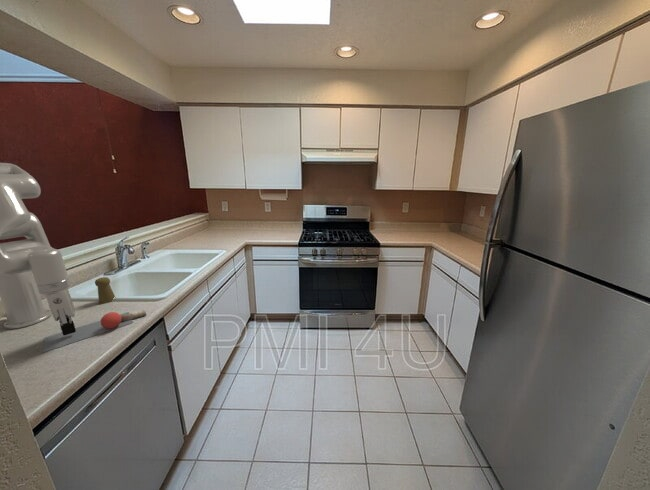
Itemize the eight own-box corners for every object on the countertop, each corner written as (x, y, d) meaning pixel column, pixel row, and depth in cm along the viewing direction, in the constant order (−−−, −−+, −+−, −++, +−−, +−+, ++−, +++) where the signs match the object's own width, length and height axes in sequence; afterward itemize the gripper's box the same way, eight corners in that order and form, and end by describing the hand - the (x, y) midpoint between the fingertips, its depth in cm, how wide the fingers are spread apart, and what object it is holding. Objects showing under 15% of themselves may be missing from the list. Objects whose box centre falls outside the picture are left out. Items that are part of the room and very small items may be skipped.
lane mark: (43, 352, 83) (43, 352, 83) (45, 337, 90) (45, 337, 90) (133, 322, 99) (133, 322, 99) (128, 312, 107) (128, 311, 107)
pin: (118, 318, 98) (145, 311, 103) (118, 315, 100) (144, 308, 105) (120, 323, 99) (146, 316, 104) (120, 320, 101) (145, 313, 106)
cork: (119, 297, 120) (113, 275, 117) (109, 303, 114) (103, 280, 111) (106, 297, 120) (100, 275, 117) (95, 303, 114) (88, 281, 111)
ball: (124, 324, 99) (105, 327, 97) (123, 309, 99) (104, 311, 97) (118, 329, 94) (97, 332, 91) (117, 313, 94) (96, 315, 92)
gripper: (70, 289, 83) (85, 337, 88) (69, 276, 93) (82, 320, 98) (36, 296, 78) (54, 347, 83) (39, 282, 88) (55, 328, 93)
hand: (69, 332), depth 91 cm, fingers closed
